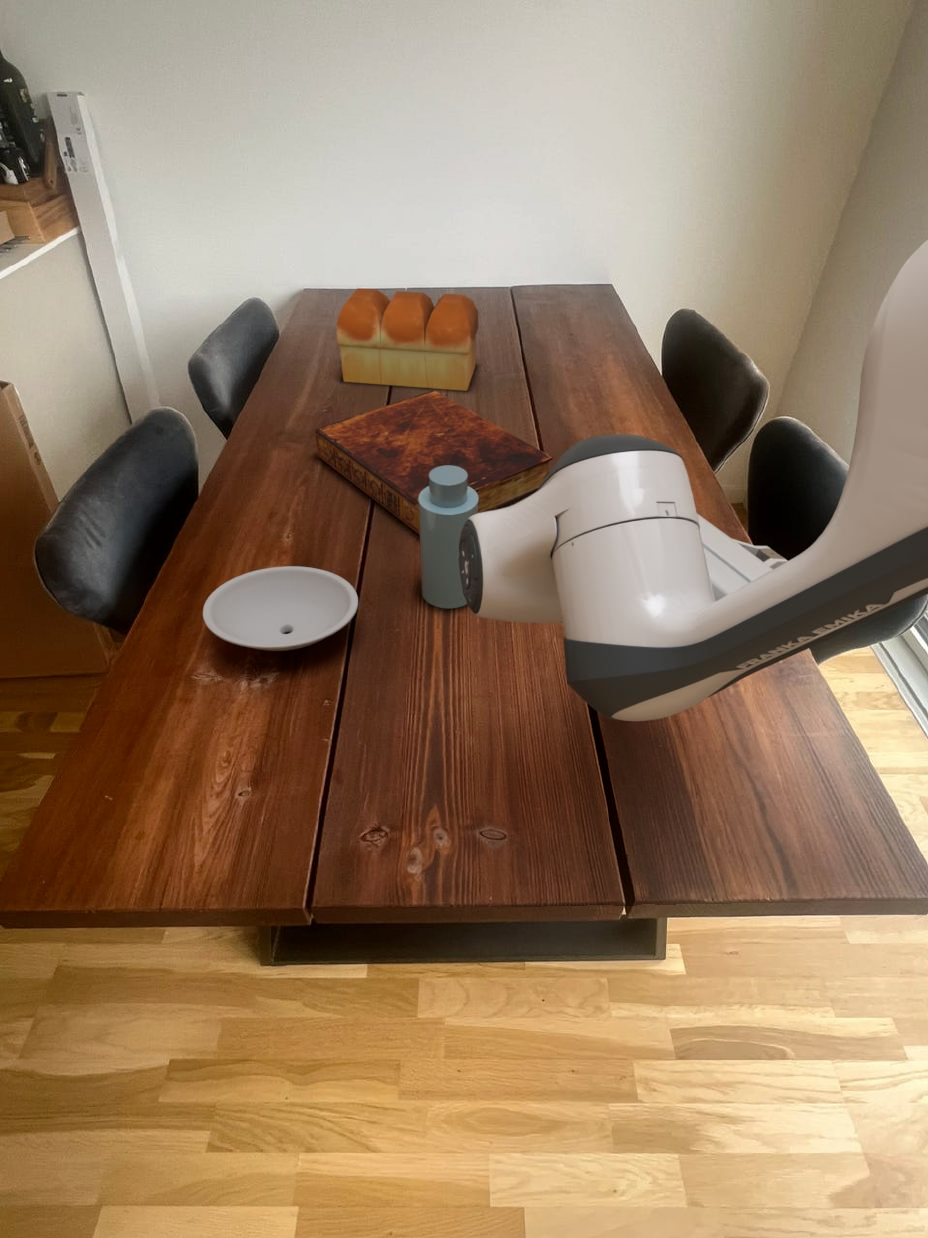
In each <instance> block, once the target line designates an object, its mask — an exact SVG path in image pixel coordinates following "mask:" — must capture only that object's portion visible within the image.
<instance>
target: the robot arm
mask: <svg viewBox="0 0 928 1238" xmlns="http://www.w3.org/2000/svg"><path fill="white" fill-rule="evenodd" d="M853 441H854V443H853V447H852V451H851V456H850V461H849V466H848V470H847V474H846V478H845V482H844V485H843V489H842V492H841V495H840V498H839V501H838V504H837V506H836V508H835V510H834V513H833V515H832V517H831V519H830V521H829V522H828V523H827V525H826V527H825V529H824V530H823V532H822V533H821V534H820V535H819V536H818V537H817V539H816V540H815V541H814V542H813V543H812V544H811V545H810V546H809V547H808V548H807V549H805V550H804V551H802V552H801V553H799V554H798V555H796V556H795V557H793V558H791V559H789V560H787V558H785V557H783V556H782V555H781V554H779V553H777V552H776V551H775V550H774V549H772V548H771V547H770V546H768V545H754V544H750V543H747V542H744V541H741V540H738V539H734V538H732V537H730V536H729V535H728V534H726V533H724V532H723V531H722V530H721V529H719V528H718V527H717V526H715V525H714V524H713V523H711V522H710V521H709V520H708V519H706V518H704V517H703V516H702V515H700V514H699V513H698V512H697V508H696V503H695V499H694V498H695V497H694V494H693V490H692V487H691V482H690V481H691V480H690V478H689V473H688V471H687V467H686V465H685V463H684V457H683V456H682V455H681V454H680V453H678V452H677V451H676V450H675V449H674V448H672V447H670V446H669V445H667V444H664V443H663V442H660V441H658V440H655V439H653V438H649V437H645V436H641V435H637V434H627V433H626V434H625V433H618V434H617V433H614V434H603V435H596V436H591V437H587V438H584V439H582V440H580V441H578V442H576V443H574V444H573V445H571V446H570V447H569V448H568V449H566V450H565V451H564V452H563V453H562V454H561V455H560V457H559V458H558V459H557V461H556V462H555V464H554V465H553V466H552V467H551V469H550V470H549V471H548V475H547V476H546V477H545V479H544V480H543V482H542V483H541V484H540V486H539V488H538V489H537V491H536V492H535V493H534V494H531V495H529V496H527V497H525V498H523V499H521V500H519V501H517V502H516V503H514V504H512V505H508V506H505V507H502V508H500V509H498V510H492V511H487V512H482V513H477V514H474V515H473V516H471V517H469V518H468V519H467V521H466V522H465V524H464V527H463V529H462V531H461V535H460V540H459V569H460V577H461V583H462V589H463V594H464V597H465V599H466V602H467V604H466V605H467V606H468V608H469V609H470V611H471V612H472V613H473V615H475V616H476V617H478V618H482V619H486V620H487V619H488V620H493V621H499V622H509V623H520V624H521V623H525V624H562V626H563V631H564V636H565V637H564V638H563V650H564V662H565V672H566V673H565V676H566V684H567V685H568V686H569V688H571V689H572V690H573V692H574V693H575V694H577V695H578V697H580V699H582V700H583V701H584V702H585V703H586V704H587V705H588V706H590V707H591V708H592V709H593V710H595V711H596V712H597V713H599V714H600V715H602V717H604V718H607V719H609V720H611V721H625V722H646V721H647V722H648V721H654V720H659V719H664V718H668V717H671V716H674V715H677V714H680V713H683V712H685V711H687V710H689V709H691V708H693V707H694V706H696V705H698V704H700V703H701V702H703V701H704V700H707V699H708V698H710V697H712V696H714V695H716V694H718V693H720V692H722V691H723V690H725V689H727V688H729V687H731V686H732V685H734V684H736V683H737V682H740V681H742V680H743V679H745V678H747V677H749V676H751V675H754V674H755V673H758V672H759V671H762V670H763V669H766V668H768V667H770V666H772V665H775V664H777V663H779V662H781V661H783V660H787V659H789V658H791V657H792V656H793V657H794V656H795V655H797V654H799V653H801V652H804V651H806V650H809V649H810V648H813V647H816V646H817V645H820V644H822V643H824V642H827V641H828V640H830V639H833V638H835V637H838V636H840V635H843V634H844V633H846V632H849V631H851V630H854V629H856V628H858V627H861V626H862V625H864V624H865V625H866V623H870V622H871V621H873V620H876V619H878V618H880V617H882V616H885V615H886V614H889V613H891V612H893V611H895V610H897V609H899V608H901V607H903V606H905V605H908V604H909V603H912V602H914V601H916V600H918V599H920V598H922V597H924V596H926V595H927V596H928V238H927V239H926V240H925V241H924V242H923V243H922V244H921V245H920V246H919V247H917V249H916V250H915V251H914V252H913V253H912V254H911V255H910V256H909V257H908V258H907V260H906V261H905V263H904V264H903V265H902V267H901V268H900V270H899V271H898V273H897V274H896V277H895V278H894V280H893V281H892V283H891V284H890V286H889V288H888V291H887V292H886V294H885V296H884V298H883V300H882V302H881V304H880V307H879V309H878V310H877V313H876V316H875V319H874V321H873V323H872V327H871V330H870V333H869V336H868V340H867V344H866V348H865V351H864V355H863V360H862V367H861V373H860V384H859V397H858V407H857V419H856V427H855V433H854V440H853Z"/></svg>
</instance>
